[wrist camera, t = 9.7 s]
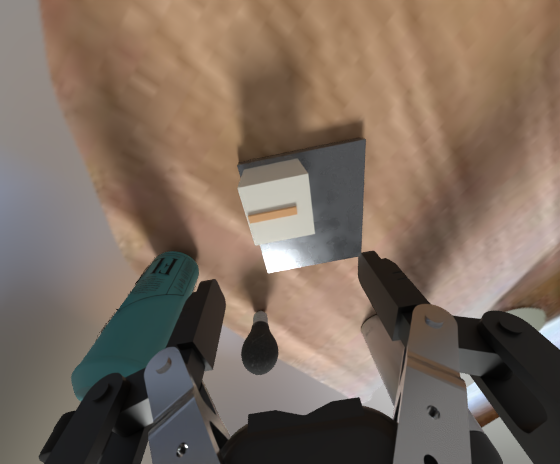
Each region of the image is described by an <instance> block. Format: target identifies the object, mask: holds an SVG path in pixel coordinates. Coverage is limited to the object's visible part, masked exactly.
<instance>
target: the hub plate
mask: <svg viewBox="0 0 560 464" xmlns="http://www.w3.org/2000/svg"><path fill="white" fill-rule="evenodd" d="M365 145H366V139H363V138H355V139H350V140H345V141H341V142H336V143H331V144H326V145H321V146H316V147H311V148H306V149H301V150H297V151H292V152H287V153H282V154H277V155H272V156H267V157H262V158H257V159H253V160H248V161H243V162H239V163H238V165H237V167H238V170H239V174H240V177H241V176H242V173H243V170H244V169H249V168H253V167H258V166H263V165H268V164H273V163H277V162H282V161H287V160H292V159H297V158H298V160H299V161H300V163H301V164H302V165H303V167H304V168H305V170H306V171H307V173H308V176H309V185H310V194H311V203H312V212H313V221H314V230H315V234H312V235H307V236H302V237H297V238H292V239H286V240H281V241H276V242H271V243H266V244H261V245H260V247H261V251H262V254H263V258H264V261H265V265H266V268H267V272H268V273H271V272H277V271H282V270H287V269H293V268H298V267H304V266H309V265H315V264H320V263H325V262H331V261H336V260H342V259H347V258H353V257H358V255H359V253H361V244H362V219H363V194H364V170H365Z"/></svg>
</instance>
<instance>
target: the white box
mask: <svg viewBox="0 0 560 464" xmlns="http://www.w3.org/2000/svg"><path fill="white" fill-rule="evenodd" d="M238 192H239V195H240V198H241V201H242V205H243V208H244V211H245V214H246V218H247V221H248V224H249V227H250V231H251V234H252V237H253V240H254V243H255V246H256V245H261V244H266V243H271V242H276V241H281V240H286V239H292V238H297V237H302V236H307V235H312V234H315V230H314V221H313V212H312V203H311V194H310V185H309V176H308V173H307V171H306V170H305V168H304V167H303V165H302V164H301V163H300V161H299V160H298V158H297V159H292V160H287V161H282V162H277V163H273V164H268V165H263V166H258V167H253V168H249V169H244V170H243V173H242V176H241V179H240V182H239V185H238Z"/></svg>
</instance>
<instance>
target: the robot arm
mask: <svg viewBox="0 0 560 464" xmlns="http://www.w3.org/2000/svg"><path fill="white" fill-rule="evenodd" d="M358 278H359V282H360V284H361V286H362V288H363V290H364V291H365V293H366V295H367V297H368V299H369V300H370V302H371V304H372V306H373V308H374V309H375V311H376V313H377V315H374V316H373V317H371V318H369V319H368V320H367V321H366V322H365V323H364V324H363V326H362V328H361V332H362V334H363V337H364V339H365V341H366V344H367V346H368V348H369V351H370V353H371V355H372V358H373V360H374V362H375V364H376V367H377V369H378V371H379V373H380V376H381V378H382V380H383V383H384V385H385V387H386V389H387V392H388V394H389V396H390V398H391V401H392V403H393V405H394V413H393V418H392V419H391V418H390V417H388V416H387V415H385V414H383V413H382V412H380V411H377V410H375V409H373V408H369V407H366V406H362V404H361V401H360V398H359V397H358V398H351V399H345V400H339V401H332V402H330V403H328V404H326V405H324V406H322V407H320V408H318V409H316V410H315V411H313V412H311V413H309V414H307V415H297V414H293V413H287V412H282V411H277V410H274V411H267V412H260V413H254V414H249V415H248V424H246V425H245V426H243V427H242V428H240V429H239V430H238V431H237V432H236V433H235V434H234V435H232V436H230V434H229V432H228V430H227V428H226V427H225V425H224V423H223V422H222V420H221V418H220V416H219V414H218V412H217V410H216V408H215V405H214V403H213V401H212V399H211V397H210V395H209V393H208V390H207V388H206V386H205V384H204V382H203V380H202V378H203V374H204V371H209V370H213V366H214V362H215V357H216V351H217V347H218V342H219V337H220V333H221V328H222V323H223V318H224V313H225V308H226V302H225V297H224V295H223V293H222V291H221V289H220V287H219V285H218V282H217V281H216V280H215V279H212V280H206V281H201V282H200V284H199V286H198V289H197V291H196V292H193V293H192V294H191V295H190V296H189V297H188V299H187V300H186V301H185V304H184V306H183V308H182V311H181V313H180V315H179V318H178V320H177V322H176V325H175V327H174V329H173V332H172V334H171V336H170V339H169V341H168V343H167V346H166V348H165V349H163V350H161V351H160V352H158V353H157V354H156V355H155V356H154V357H153V358H152V359H151V360H150V361H149V363H148V365H147V366H146V367H145V368H143V369H141V370H139V371H137V372H135V373H133V374H131V375H129V376H127V377H124V376H122V375H121V374H120V373H111V374H108V375H106V376H105V377H103V378H101V379H100V380H99V381H98V382H96V383H95V384H94V385H93V386H92V387H91V388H90V389H89V391H88V392H87V393H86V395H85V396H84V398H83V400H82V401H81V403H80V405H79V407H78V408H77V410H76V411H75V413H74V415H73V416H72V418H71V420H70V421H69V423H68V425H67V426H66V428H65V430H64V431H63V433H62V435H61V436H60V438H59V440H58V441H57V443H56V445H55V446H54V448H53V450H52V451H51V453H50V455H49V456H48V458H47V460H46V461H45V463H44V464H97V462H98V460H99V458H100V456H101V453H102V451H103V449H104V447H105V445H106V442H107V440H108V438H109V436H110V433H111V431H113V433H112V436H111V438H110V440H109V442H108V445H107V447H106V449H105V452H104V454H103V456H102V458H101V461H100V463H99V464H141V461H142V458H143V455H144V452H145V449H146V446H147V442H148V440H149V446H150V451H151V457H152V463H153V464H503V461H502V459H501V457H500V455H499V453H498V452H497V450H496V449H495V447H494V446H493V444H492V443H491V441H490V440H489V438H488V437H487V435H486V434H485V433H484V431H483V430H482V428H481V427H480V425H479V424H478V422H477V421H476V419H475V418H474V417H473V415H472V414H471V412H470V411H469V409H468V403H467V389H466V384H465V381H464V380H463V379H461V377H460V373H465V374H469V375H470V376H471V377H472V379H473V380H474V382H475V383H476V384H477V386H478V387H479V388H480V390H481V391H482V393H483V394H484V395H485V397H486V398H487V400H488V401H489V402H490V404H491V405H492V407H493V408H494V409H495V411H496V412H497V413H498V415H499V416H500V418H501V419H502V420H503V422H504V423H505V425H506V426H507V427H508V429H509V430H510V431H511V433H512V434H513V436H514V437H515V438H516V440H517V441H518V443H519V444H520V445H521V447H522V448H523V449H524V451H525V452H526V454H527V455H528V456H529V458H530V459H531V461H532V462H533V463H534V464H560V350H559V349H558V348H557V347H556V346H555V345H554V344H552V343H551V342H550V341H549V340H548V339H546V338H545V337H544V336H543V335H542V334H541V333H539V332H538V331H537V330H536V329H535V328H534V327H532V326H531V325H530V324H528V323H527V322H526V321H524V320H523V319H521V318H519V317H517V316H515V315H512V314H510V313H506V312H502V311H488V312H486V313H484V314H483V316H482V318H481V319H476V318H467V317H458V316H453V315H451V314H450V313H449V312H447V311H446V310H444V309H443V308H441V307H438V306H436V305H432V304H430V303H429V302H428V301H427V299H426V298H425V297H424V296H423V295H422V294H421V292H420V291H419V290H418V289H417V288H416V287H415V286H414V284H413V283H412V282H411V281H410V280H409V279H408V278H407V276H406V275H405V274H404V273H402V271H401V269H400V268H399V267H398V266H397V265H396V264H395V263H394V262H392V261H390V260H389V259H387V258H384V259H381V258H380V257H379V256H378V255H377V253H376V252H375V251H368V252H363V253H359V255H358Z"/></svg>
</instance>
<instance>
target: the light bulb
mask: <svg viewBox="0 0 560 464" xmlns="http://www.w3.org/2000/svg"><path fill="white" fill-rule="evenodd" d="M241 356H242V361H243V364H244V366H245V368H246V369H247V370H248V371H250V372H251V373H253V374H255V375H262V374H265V373H267V372H269V371H270V370H271V369H272V368H273V367H274V365H275V363H276V361H277V358H278V346H277V343H276V340H275V338H274V337H273V335H272V334H271V332H270V330H269V325H268V318H267V314H266V313H265V312H263V311H259V312H257V313H255V314H254V317H253V325H252V329H251V332H250V334H249V335H248V337H247V338H246V340H245V342H244V344H243V347H242V352H241Z"/></svg>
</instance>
